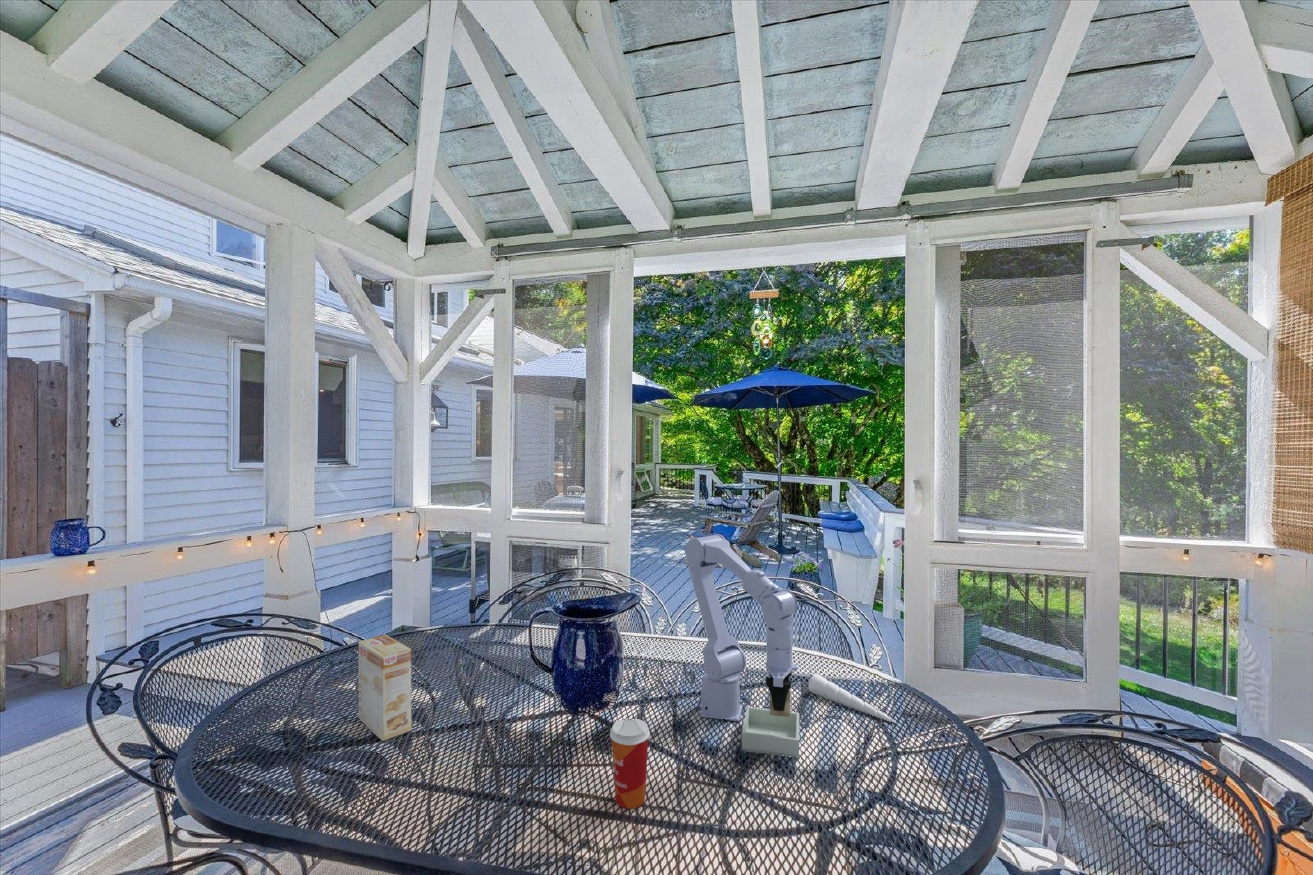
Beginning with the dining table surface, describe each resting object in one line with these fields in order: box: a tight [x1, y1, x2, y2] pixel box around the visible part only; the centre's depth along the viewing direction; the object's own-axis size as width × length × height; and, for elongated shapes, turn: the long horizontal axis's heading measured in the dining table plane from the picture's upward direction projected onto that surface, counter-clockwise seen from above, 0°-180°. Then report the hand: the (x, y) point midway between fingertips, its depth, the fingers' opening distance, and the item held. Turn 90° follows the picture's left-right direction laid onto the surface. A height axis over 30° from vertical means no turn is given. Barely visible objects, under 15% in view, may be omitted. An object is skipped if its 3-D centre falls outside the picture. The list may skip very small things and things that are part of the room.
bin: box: [741, 706, 800, 759], centre depth 128 cm, size 12×12×4 cm
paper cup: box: [609, 718, 651, 810], centre depth 108 cm, size 8×8×14 cm
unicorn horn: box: [808, 673, 897, 724], centre depth 144 cm, size 5×24×5 cm, turn 36°
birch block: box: [769, 686, 792, 717], centre depth 128 cm, size 4×4×6 cm
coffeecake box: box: [357, 634, 413, 742], centre depth 136 cm, size 15×7×20 cm, turn 47°
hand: (779, 704), depth 128 cm, fingers closed on birch block, 4 cm apart
